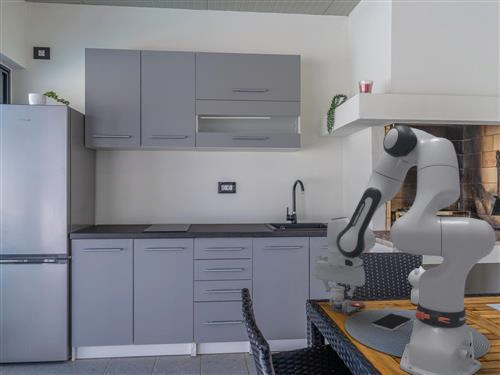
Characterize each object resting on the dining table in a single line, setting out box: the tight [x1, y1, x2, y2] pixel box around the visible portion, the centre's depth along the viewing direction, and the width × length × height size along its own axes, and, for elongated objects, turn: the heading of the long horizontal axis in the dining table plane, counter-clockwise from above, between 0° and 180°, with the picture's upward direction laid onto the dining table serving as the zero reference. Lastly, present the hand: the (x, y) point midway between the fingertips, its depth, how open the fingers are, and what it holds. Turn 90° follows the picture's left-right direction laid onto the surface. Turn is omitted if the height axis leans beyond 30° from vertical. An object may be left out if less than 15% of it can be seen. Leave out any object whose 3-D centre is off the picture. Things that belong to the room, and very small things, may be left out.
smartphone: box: [371, 312, 412, 332], centre depth 127 cm, size 8×1×15 cm
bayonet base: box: [329, 298, 366, 316], centre depth 143 cm, size 14×10×4 cm
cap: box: [330, 285, 346, 301], centre depth 142 cm, size 6×5×5 cm
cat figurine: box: [407, 265, 426, 306], centre depth 147 cm, size 9×12×15 cm
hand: (339, 293), depth 142 cm, fingers open, 8 cm apart
